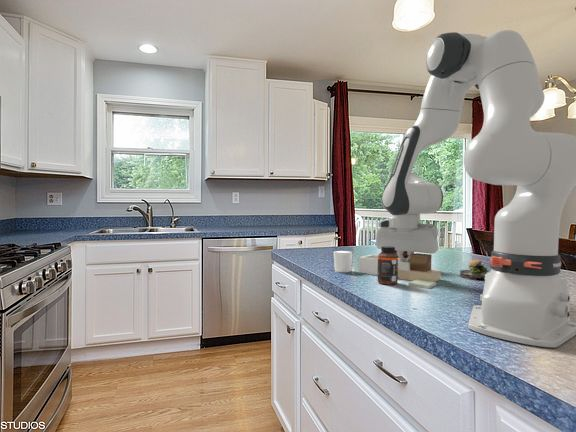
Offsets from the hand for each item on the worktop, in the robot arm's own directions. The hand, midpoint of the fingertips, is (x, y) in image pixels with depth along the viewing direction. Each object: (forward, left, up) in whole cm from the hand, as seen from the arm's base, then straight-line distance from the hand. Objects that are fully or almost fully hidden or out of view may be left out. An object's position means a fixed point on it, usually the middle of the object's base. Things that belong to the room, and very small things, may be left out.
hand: (405, 264), depth 117 cm
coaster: (-8, -9, -4) cm, 13 cm away
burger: (+18, -18, -5) cm, 26 cm away
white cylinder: (-5, +21, -4) cm, 22 cm away
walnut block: (0, -5, -1) cm, 5 cm away
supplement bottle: (-13, 0, -4) cm, 13 cm away
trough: (0, +3, -4) cm, 5 cm away
